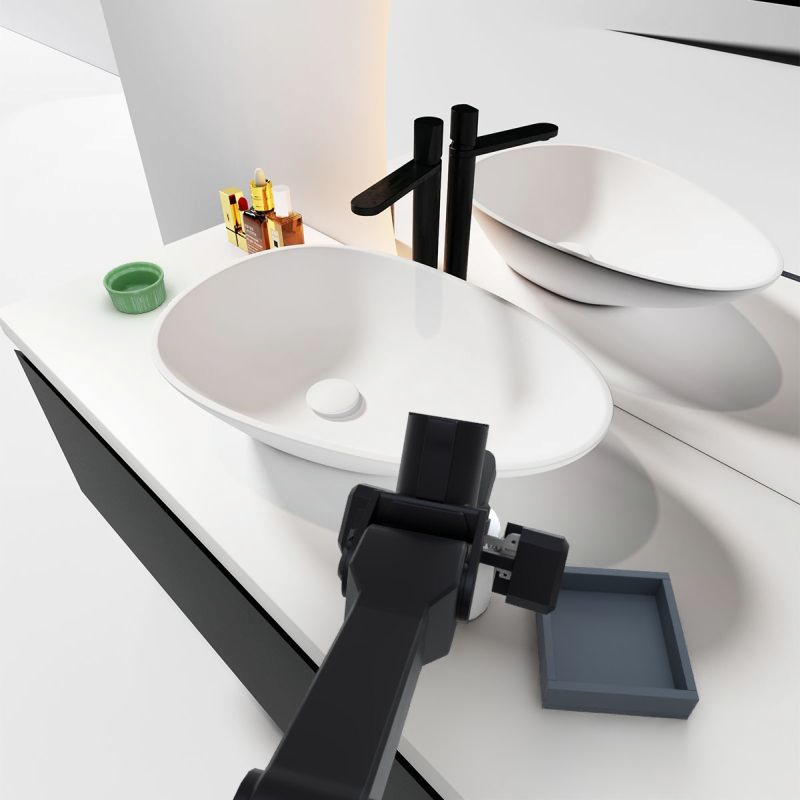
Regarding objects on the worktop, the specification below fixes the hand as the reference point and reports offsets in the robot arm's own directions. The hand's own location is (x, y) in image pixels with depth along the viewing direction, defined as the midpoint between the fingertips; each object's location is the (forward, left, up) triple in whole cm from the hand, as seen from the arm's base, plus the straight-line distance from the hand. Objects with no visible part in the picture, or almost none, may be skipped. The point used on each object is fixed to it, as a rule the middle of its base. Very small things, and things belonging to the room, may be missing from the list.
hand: (465, 535), depth 66 cm
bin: (-6, -14, -8) cm, 17 cm away
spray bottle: (-1, 0, -8) cm, 8 cm away
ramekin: (+48, +51, -8) cm, 71 cm away
